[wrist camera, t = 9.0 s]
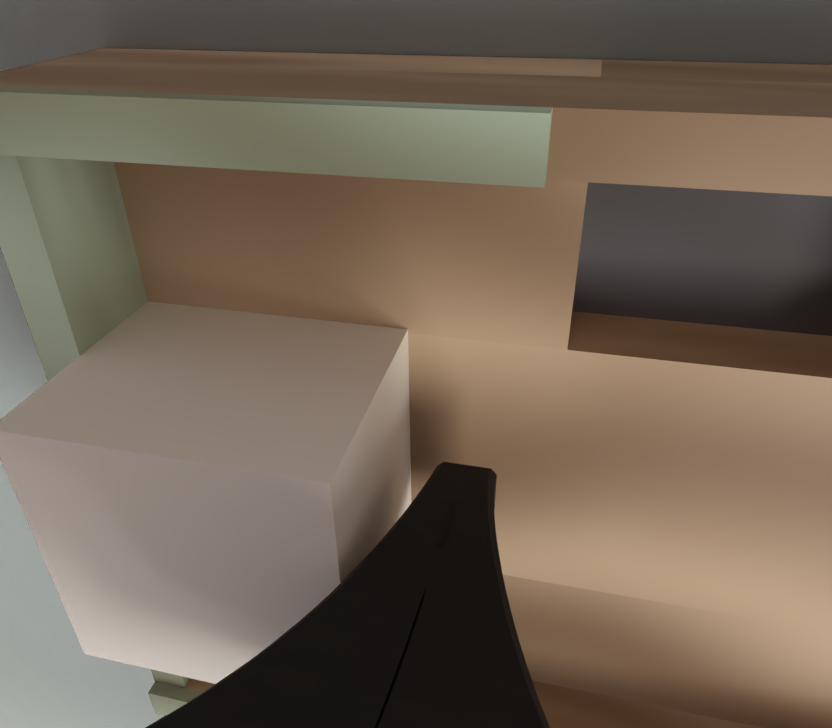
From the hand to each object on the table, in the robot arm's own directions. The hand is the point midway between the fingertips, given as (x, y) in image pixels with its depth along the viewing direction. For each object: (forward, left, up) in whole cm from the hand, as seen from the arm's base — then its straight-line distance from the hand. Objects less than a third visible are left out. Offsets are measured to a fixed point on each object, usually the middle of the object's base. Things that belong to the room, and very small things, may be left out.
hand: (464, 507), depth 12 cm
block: (0, +4, -1) cm, 4 cm away
